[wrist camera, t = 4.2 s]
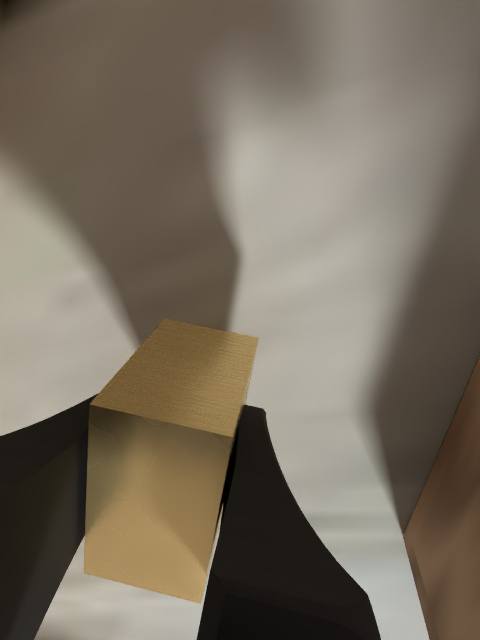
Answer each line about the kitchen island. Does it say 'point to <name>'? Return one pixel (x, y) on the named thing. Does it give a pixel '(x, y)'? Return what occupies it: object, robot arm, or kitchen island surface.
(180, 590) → the wooden block
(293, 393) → the kitchen island surface
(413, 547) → the brown square open block
